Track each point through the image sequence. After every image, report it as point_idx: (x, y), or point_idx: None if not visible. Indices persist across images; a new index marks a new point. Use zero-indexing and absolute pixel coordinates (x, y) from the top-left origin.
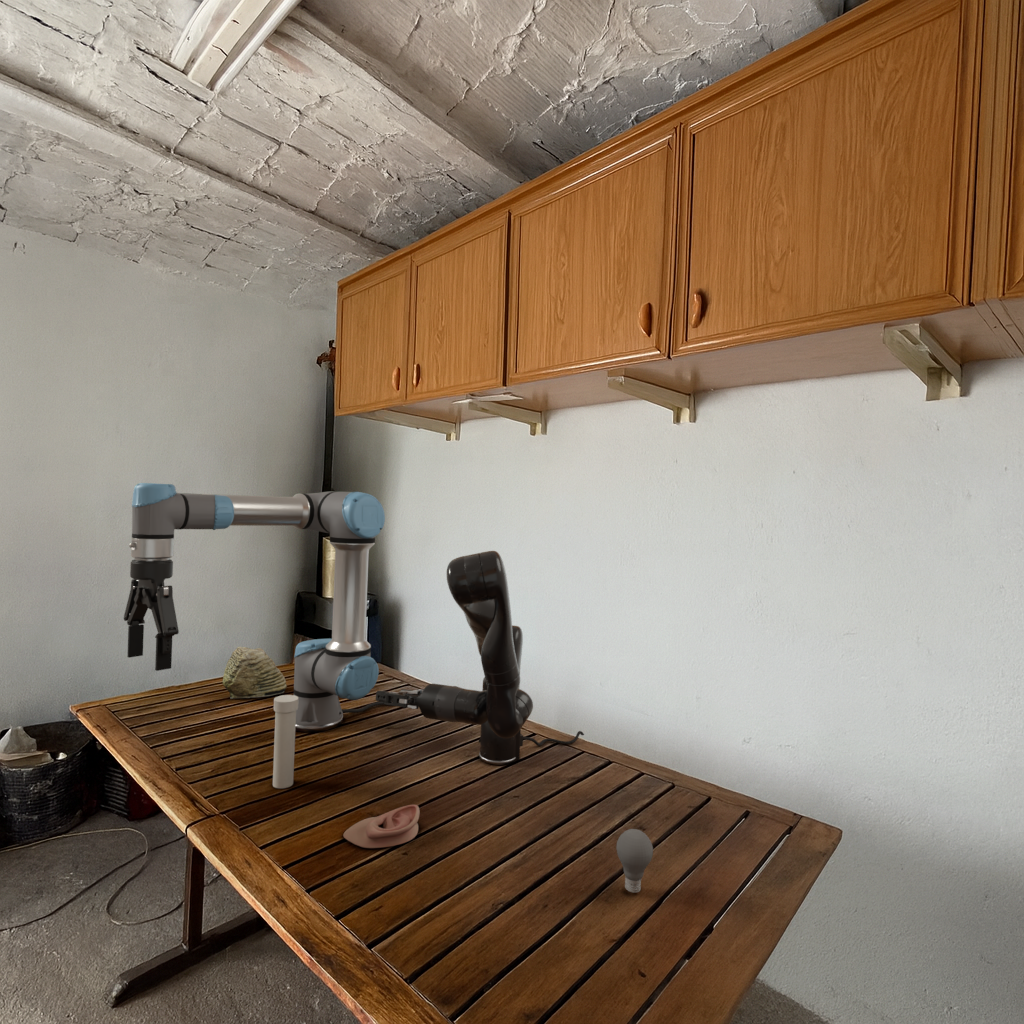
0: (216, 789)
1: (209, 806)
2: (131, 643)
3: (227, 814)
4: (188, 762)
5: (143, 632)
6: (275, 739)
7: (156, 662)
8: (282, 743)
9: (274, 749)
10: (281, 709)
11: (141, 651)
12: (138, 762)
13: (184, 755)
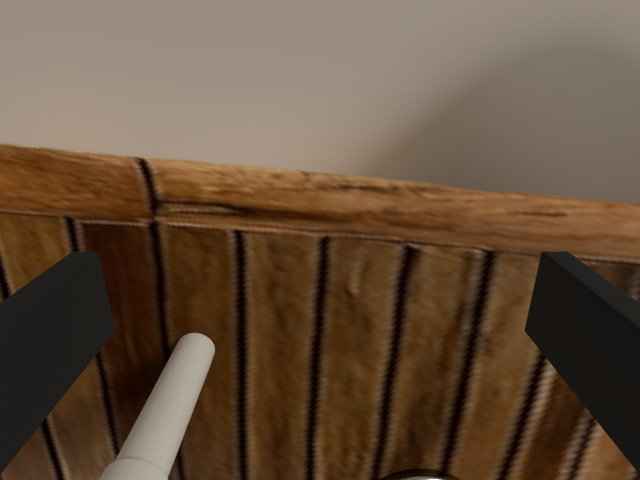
0: (259, 260)
1: (195, 220)
2: (602, 319)
3: (141, 228)
4: (426, 278)
5: (635, 468)
6: (162, 400)
7: (50, 277)
8: (147, 401)
9: (174, 383)
10: (105, 471)
11: (541, 340)
12: (513, 208)
13: (468, 288)
